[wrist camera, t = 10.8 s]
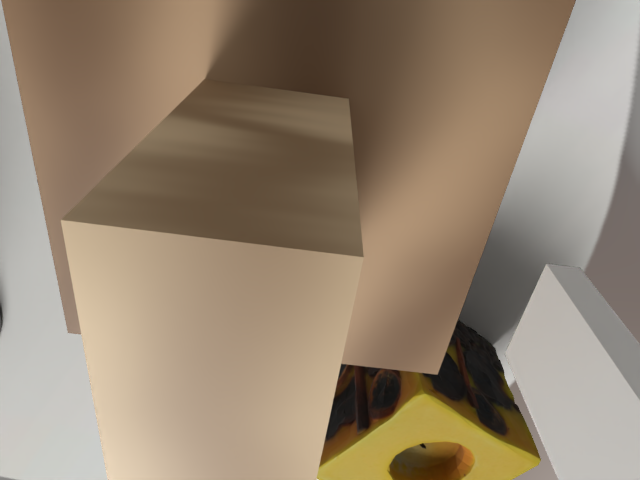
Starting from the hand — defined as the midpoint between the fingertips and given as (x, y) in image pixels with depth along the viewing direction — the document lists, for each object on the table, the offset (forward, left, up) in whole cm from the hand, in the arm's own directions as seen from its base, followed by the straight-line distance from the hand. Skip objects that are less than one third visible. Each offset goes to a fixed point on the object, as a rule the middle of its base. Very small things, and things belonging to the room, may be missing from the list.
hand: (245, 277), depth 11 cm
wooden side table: (0, 0, -18) cm, 18 cm away
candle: (+10, -19, -19) cm, 28 cm away
